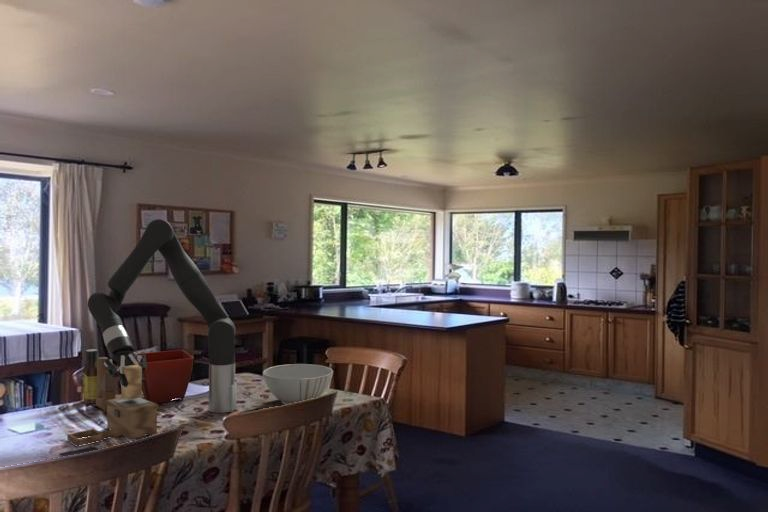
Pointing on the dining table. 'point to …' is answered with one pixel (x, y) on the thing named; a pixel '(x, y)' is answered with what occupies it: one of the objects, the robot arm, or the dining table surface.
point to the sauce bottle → (90, 376)
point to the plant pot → (166, 375)
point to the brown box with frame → (122, 421)
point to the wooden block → (104, 385)
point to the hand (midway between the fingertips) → (134, 384)
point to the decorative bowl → (297, 381)
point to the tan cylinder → (132, 382)
